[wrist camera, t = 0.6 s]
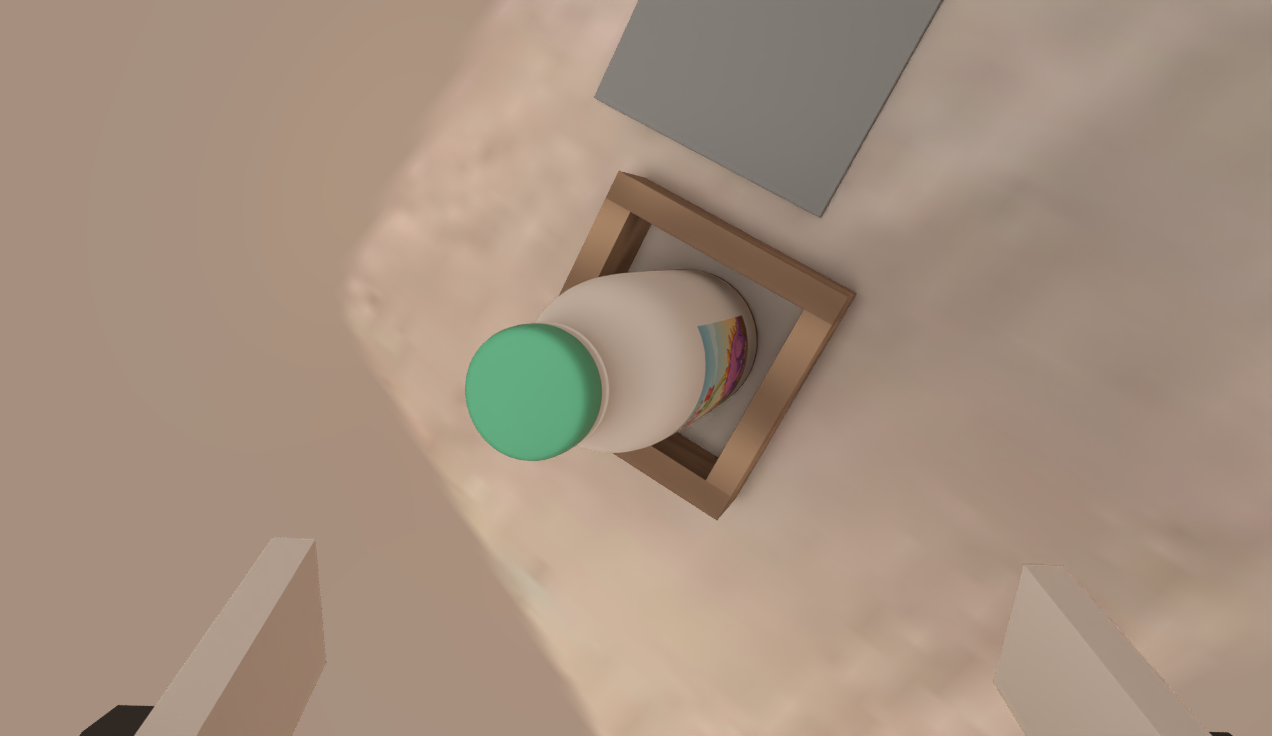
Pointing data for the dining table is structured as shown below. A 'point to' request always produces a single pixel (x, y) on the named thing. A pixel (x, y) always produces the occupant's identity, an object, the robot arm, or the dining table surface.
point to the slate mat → (766, 82)
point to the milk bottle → (612, 365)
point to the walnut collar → (821, 298)
